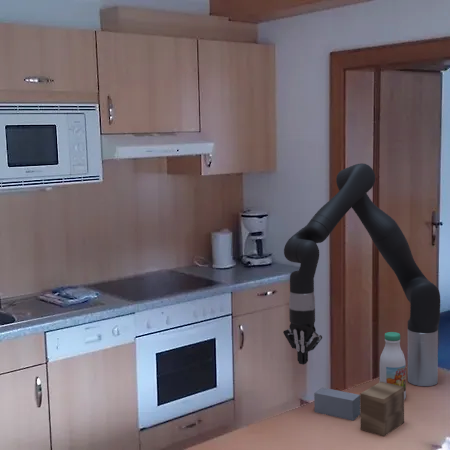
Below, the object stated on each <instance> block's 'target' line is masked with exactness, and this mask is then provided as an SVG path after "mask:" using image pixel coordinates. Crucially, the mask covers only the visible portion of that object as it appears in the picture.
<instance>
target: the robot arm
mask: <svg viewBox="0 0 450 450" xmlns="http://www.w3.org/2000/svg"><path fill="white" fill-rule="evenodd" d="M375 182H376V174H375V170H374V169H373V168H372V167H371V166H370V165H369V164H367V163H356V164H353V165H351V166H349V167H345V168H344V169H342V170H340V171H339V172H338V173H337V175H336V181H335V183H336V186H337V189H338V192H337V193H336V194H335V195H334V196H333V197H332V198H330V199H329V200H328V201H327V202H326V203H325V204H323V206H322V207H320V208H319V209H318V210H317V212H315V214H314V215H313V216H312V217H311V219H310V220H309V222H307V224H306V225H305V226H304V227H302V228H301V229H299V230H298V231H297V232H295V233H294V234H293V235H292V236H291V237H289V238H288V239H287V242H286V243H285V244H284V248H283V255H284V257H285V259H286V260H288V262H291V263H295V264H300V266H299V270H294V271H292V272H291V273H290V275H289V298H288V299H289V301H288V303H289V305H288V307H289V310H288V311H289V316H288V317H289V322H290V324H289V327H288V328H287V329H285V330H283V335H284V336H285V338H286V340H287V341H288V343H289V345H290V347H291V348H292V349H295V350H296V353H297V357H296V358H297V362H298V364H300V365H303V366H304V365H305V364H307V363H308V362H309V352H311V351H313V350H315V348H316V347H317V346H318V344H319V343H320V342H321V341H322V339H323V335H321V334H318V333H317V331H316V326H315V322H316V298H315V297H316V296H315V275H316V270H317V267H318V265H319V264H318V263H319V259H320V249H319V245H318V244H320V243H323V242H324V241H325V240H327V238H328V237H329V236H330V234H331V233H332V232H333V231H334V229H335V228H336V226H337V225H338V224H339V223H340V222H341V220H342V219H343V218H344V216H345V215H346V214H347V213H348V212H349V211H350V210H351V209H352V210H353V211H354V213H355V214H356V216H357V217H358V219H359V220H360V222H361V224H362V225H363V226H364V228H365V230H366V231H367V233H368V235H369V236H370V238H371V240H372V242H373V243H374V245H375V247H376V249H377V250H378V252H379V253H380V255H381V257H383V259H384V260H385V263H386V264H387V265H388V266H389V267H390V268H391V269H392V272H393V273H394V275H395V276H396V277H397V280H398V282H399V284H400V286H401V288H402V290H403V292H404V293H403V294H404V295H405V297H406V299H407V301H408V302H409V303H410V305H409V306H410V313H409V314H410V315H409V319H408V320H407V382H408V383H410V384H411V385H412V386H413V385H415V386H419V387H432V386H435V385H437V384H438V380H439V379H438V377H439V376H438V373H439V372H438V370H439V369H438V366H439V365H438V361H439V360H438V357H439V355H438V352H439V350H438V349H439V347H438V346H439V344H438V343H439V340H438V339H439V332H438V331H439V329H438V328H439V323H440V320H441V294H440V289H439V288H438V287H437V286H436V285H435V284H434V283H433V282H431V281H430V280H429V279H428V278H427V277H426V275H425V274H424V273H423V272H422V270H421V269H420V268H419V266H418V265H417V263H416V261H415V259H414V256H413V254H412V250H411V248H410V245H409V242H408V240H407V238H406V236H405V234H404V233H403V230H402V229H401V227H400V226H399V224H398V223H397V222H396V220H395V219H394V218H393V217H391V216H390V215H389V214H388V213H386V212H385V211H383V210H382V209H380V208H379V206H377V205H376V204H375V203H374V202H373V201H372V199H371V198H370V197H369V195H368V192H369V191H371V189H373V187H374V185H375V184H376V183H375Z"/></svg>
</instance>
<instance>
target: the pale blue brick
mask: <svg viewBox="0 0 450 450" xmlns="http://www.w3.org/2000/svg"><path fill="white" fill-rule="evenodd" d="M313 397H314V413H316V414H320V415H325V414H326V416H329V417H335V418H339V419H345V420H348V421H353V422H354V421H355V420H356V419H357V418H358V417H359V416H360V394H357V393H352V392H348V391H347V392H346V391H342V390H337V389H332V388H326V387H320V388H319V389H318V390H316V391H315V392H314V394H313Z"/></svg>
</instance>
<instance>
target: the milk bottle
mask: <svg viewBox="0 0 450 450" xmlns="http://www.w3.org/2000/svg"><path fill="white" fill-rule="evenodd" d="M384 342H385V344H384V347H383V349H382V352H381V354H380V358H379V382H386V383H390V384H394V385H399V386H403V387H404V401H405V399H406V397H407V367H406V366H407V365H406V363H407V361H406V359H405V358H406V356H405V355H404V352H403V350H402V348H401V344H400V343H401V334H400V333H399V332H395V331H389V332H385V333H384Z"/></svg>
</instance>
